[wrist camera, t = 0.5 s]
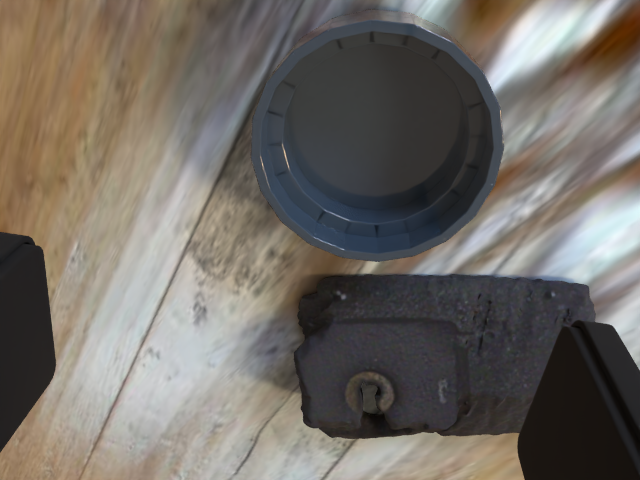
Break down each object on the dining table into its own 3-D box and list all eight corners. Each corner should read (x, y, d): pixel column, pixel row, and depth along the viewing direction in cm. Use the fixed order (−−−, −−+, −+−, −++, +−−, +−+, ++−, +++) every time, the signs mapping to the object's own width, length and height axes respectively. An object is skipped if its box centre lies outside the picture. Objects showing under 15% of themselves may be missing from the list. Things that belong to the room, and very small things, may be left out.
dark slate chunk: (572, 432, 49) (590, 479, 45) (306, 426, 51) (300, 471, 47) (603, 272, 42) (628, 311, 37) (292, 274, 44) (283, 311, 40)
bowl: (370, -47, 33) (369, -42, 29) (536, 119, 37) (557, 146, 33) (222, 132, 39) (202, 159, 35) (378, 261, 43) (378, 300, 38)
